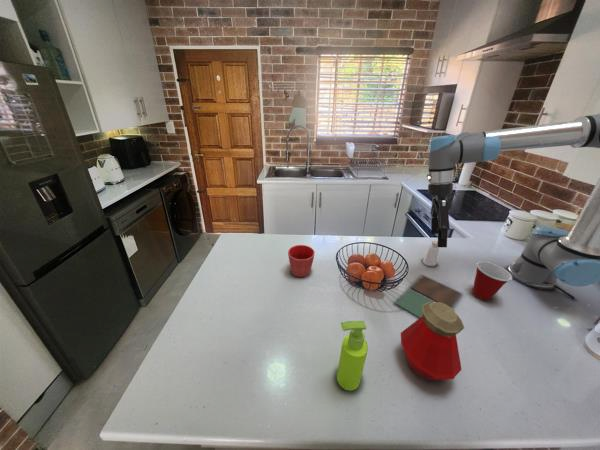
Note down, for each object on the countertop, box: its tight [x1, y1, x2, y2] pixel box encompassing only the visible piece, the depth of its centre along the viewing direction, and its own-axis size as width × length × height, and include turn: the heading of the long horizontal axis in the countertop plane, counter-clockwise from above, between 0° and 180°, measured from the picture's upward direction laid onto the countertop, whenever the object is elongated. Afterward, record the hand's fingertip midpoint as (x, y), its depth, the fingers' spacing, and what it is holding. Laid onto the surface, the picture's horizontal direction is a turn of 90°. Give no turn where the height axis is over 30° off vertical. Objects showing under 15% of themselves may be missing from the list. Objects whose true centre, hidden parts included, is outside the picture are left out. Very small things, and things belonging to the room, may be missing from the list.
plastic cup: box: [472, 260, 513, 301], centre depth 91 cm, size 11×11×12 cm
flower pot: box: [287, 244, 316, 278], centre depth 101 cm, size 11×11×10 cm
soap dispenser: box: [336, 320, 369, 392], centre depth 59 cm, size 6×7×20 cm
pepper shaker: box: [422, 240, 440, 267], centre depth 109 cm, size 5×5×11 cm
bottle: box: [400, 301, 465, 382], centre depth 63 cm, size 16×14×20 cm
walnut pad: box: [410, 275, 461, 308], centre depth 95 cm, size 14×11×1 cm
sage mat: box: [395, 289, 434, 319], centre depth 87 cm, size 14×11×1 cm
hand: (438, 239), depth 92 cm, fingers open, 13 cm apart
